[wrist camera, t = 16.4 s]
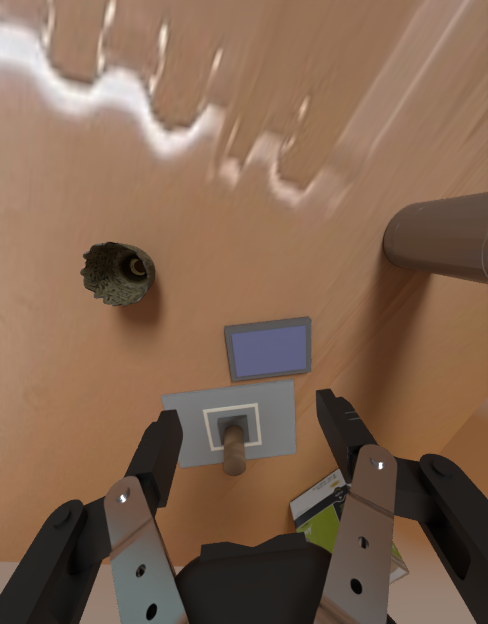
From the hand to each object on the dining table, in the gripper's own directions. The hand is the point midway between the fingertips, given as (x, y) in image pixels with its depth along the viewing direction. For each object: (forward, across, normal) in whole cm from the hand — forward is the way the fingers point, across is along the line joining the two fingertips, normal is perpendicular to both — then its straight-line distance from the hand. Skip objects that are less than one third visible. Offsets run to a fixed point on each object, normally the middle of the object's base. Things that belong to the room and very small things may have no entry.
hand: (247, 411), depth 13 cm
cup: (+24, +14, -7) cm, 29 cm away
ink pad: (+24, -4, +10) cm, 26 cm away
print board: (+24, +5, +26) cm, 35 cm away
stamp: (+24, +5, +26) cm, 35 cm away
